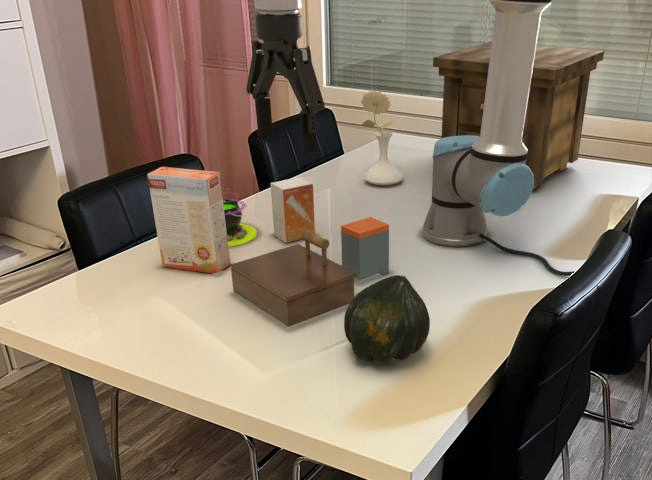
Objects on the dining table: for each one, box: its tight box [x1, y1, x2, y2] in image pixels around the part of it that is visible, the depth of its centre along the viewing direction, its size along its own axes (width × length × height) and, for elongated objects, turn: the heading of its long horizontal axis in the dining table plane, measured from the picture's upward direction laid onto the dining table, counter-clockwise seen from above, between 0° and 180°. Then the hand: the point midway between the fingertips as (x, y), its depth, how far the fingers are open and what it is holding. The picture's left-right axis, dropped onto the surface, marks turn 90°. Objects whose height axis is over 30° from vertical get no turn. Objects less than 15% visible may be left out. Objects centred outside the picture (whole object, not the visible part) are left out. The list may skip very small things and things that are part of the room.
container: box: [340, 216, 390, 281], centre depth 151 cm, size 8×6×11 cm
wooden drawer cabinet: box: [432, 40, 605, 190], centre depth 207 cm, size 35×35×33 cm
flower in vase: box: [360, 90, 404, 186], centre depth 201 cm, size 13×11×25 cm
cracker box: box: [146, 166, 231, 275], centre depth 153 cm, size 14×6×21 cm, turn 71°
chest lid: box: [230, 230, 357, 302], centre depth 139 cm, size 16×20×6 cm
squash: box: [343, 274, 431, 365], centre depth 123 cm, size 14×15×15 cm
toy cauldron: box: [223, 188, 258, 248], centre depth 171 cm, size 15×15×11 cm
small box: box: [269, 176, 316, 244], centre depth 169 cm, size 8×6×13 cm
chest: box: [230, 267, 355, 327], centre depth 142 cm, size 16×20×6 cm
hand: (286, 143), depth 128 cm, fingers open, 13 cm apart
